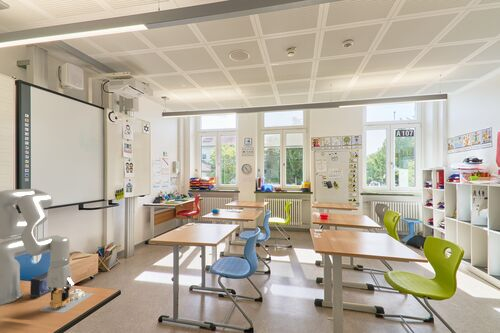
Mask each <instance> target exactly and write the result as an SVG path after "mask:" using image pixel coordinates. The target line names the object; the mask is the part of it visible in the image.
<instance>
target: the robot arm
mask: <svg viewBox="0 0 500 333" xmlns="http://www.w3.org/2000/svg"><path fill="white" fill-rule="evenodd" d="M52 204H53V198H52V196H51V195H50V194H49V193H48V192H46V191H42V190H40V189H36V188H20V189H17V188H16V189H7V190H1V191H0V240H5V241H2V242H0V306H3V305H7V304H11V303H12V302H15V301H18V300H20V299H21V298H23V296H24V293H25V292H23V291H21V289H20V288H21V286H20V285H21V283H20V282H21V277H20V276H21V271H20V270H21V264H20V262H19V261H18V260H17V259H16V258H17V257H20V256H22V255H26V254H29V255H30V256H32V257H36V256H40V255H43V254H46V253H49V254H50V256H49V258H50V260H49V266H48V270H47V272H48V274H47V283H46V285H47V286H48V288H49V289H50V292H49V293H50V301H53V292H54V291H56V290H59V289H62V291H63V293H62V301H64V300H66V299H68V298H69V294H70V291H71V289H72V288H73V287H74V286H75V283H74V282H73V280H72V279H73V278H72V277H73V276H72V267H71V264H70V238H69V237H66V236H60V235H51V236H47V237H42V238H39V239H36V238H37V237H36V228H37V227H38V226H40V225H42V224H44V223H45V222H46V221H47V220H48V215H47V213H46V211H45V209H47V208H50V207H51V206H52ZM15 206H17V207H18V208H19V210H20V212H21V214H22V217H23V218H19V210H18V209H17V208H16V207H15ZM18 237H19V238H18ZM11 238H13V239H11ZM14 238H15V239H14ZM7 239H10V240H7Z"/></svg>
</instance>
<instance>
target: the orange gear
mask: <svg viewBox="0 0 500 333" xmlns="http://www.w3.org/2000/svg"><path fill="white" fill-rule="evenodd" d="M62 293H63V291H62V288H58V290H56V291H54V292H53V300H50V301H49V308H51V307H54V308H57V307H59V306H64V305H65V304H66V303H69V302H70V297H69V298H68V299H66V300H64V301H62Z"/></svg>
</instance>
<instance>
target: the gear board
mask: <svg viewBox="0 0 500 333" xmlns="http://www.w3.org/2000/svg"><path fill="white" fill-rule="evenodd" d="M78 289H79V288H75V289H73V290H74V293H76V292H78ZM69 295H70V293H69ZM93 295H95V293H92V292H84V296H83V297H81V298H80V299H75V300H74V301H71V300H70V302H69V303H66V304H65V305H64V306H59V307H57V308H54V307H51V308H49V305H47V306H45V307H43V308H40V310H39V312H49V313H60V314H61V313H62V314H64V313H65V312H67V311H69V310H70V309H72V308H74V307H76V306H77V305H79V304H80V303H81V302H82V303H83V301H85V300H86V299H88V298H90V297H91V296H93Z"/></svg>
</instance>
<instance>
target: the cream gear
mask: <svg viewBox="0 0 500 333" xmlns="http://www.w3.org/2000/svg"><path fill="white" fill-rule="evenodd" d="M77 289H78V292H76V293H74V290H75V289H73V290H72V291H71V290H70V291H69V294H70V295H69V297H70V300H71V301H74V300H75V299H80V298H81V297H83V296H84V293H85V291H84V290H82V289H81V288H77Z"/></svg>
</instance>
